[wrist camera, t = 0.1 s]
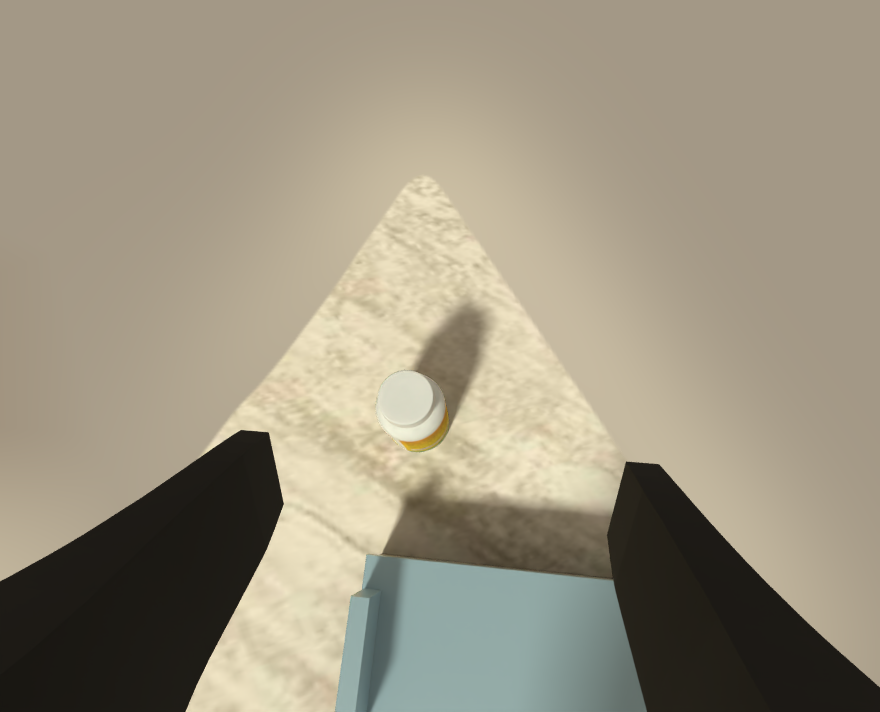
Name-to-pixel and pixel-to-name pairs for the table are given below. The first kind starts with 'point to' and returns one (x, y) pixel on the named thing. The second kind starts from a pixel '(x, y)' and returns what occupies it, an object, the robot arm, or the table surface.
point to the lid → (484, 642)
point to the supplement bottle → (412, 411)
